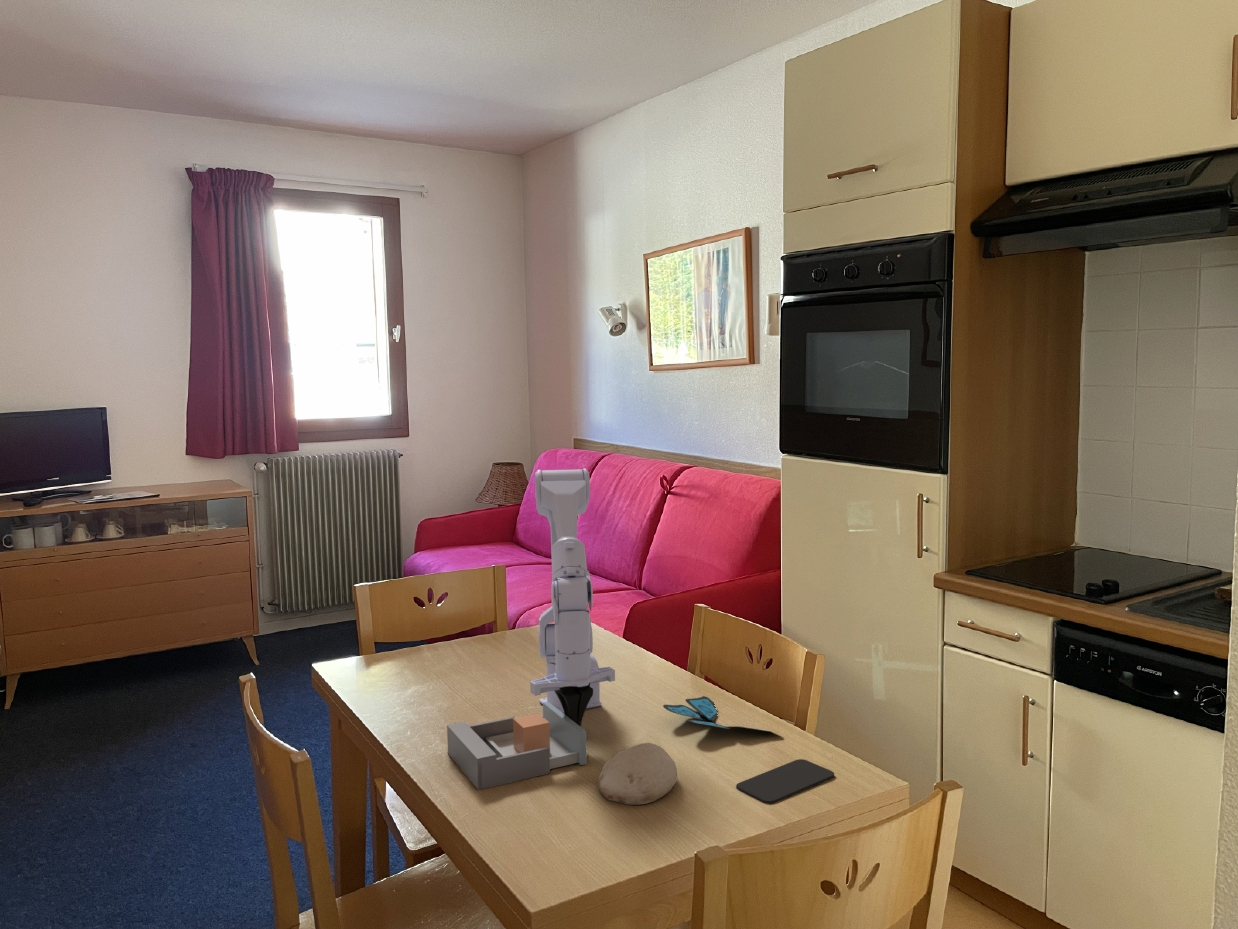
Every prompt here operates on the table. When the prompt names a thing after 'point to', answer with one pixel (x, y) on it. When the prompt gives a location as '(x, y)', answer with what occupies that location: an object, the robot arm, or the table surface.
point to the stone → (638, 775)
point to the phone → (785, 781)
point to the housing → (492, 755)
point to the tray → (563, 740)
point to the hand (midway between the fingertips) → (574, 729)
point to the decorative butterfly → (702, 706)
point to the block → (531, 733)
